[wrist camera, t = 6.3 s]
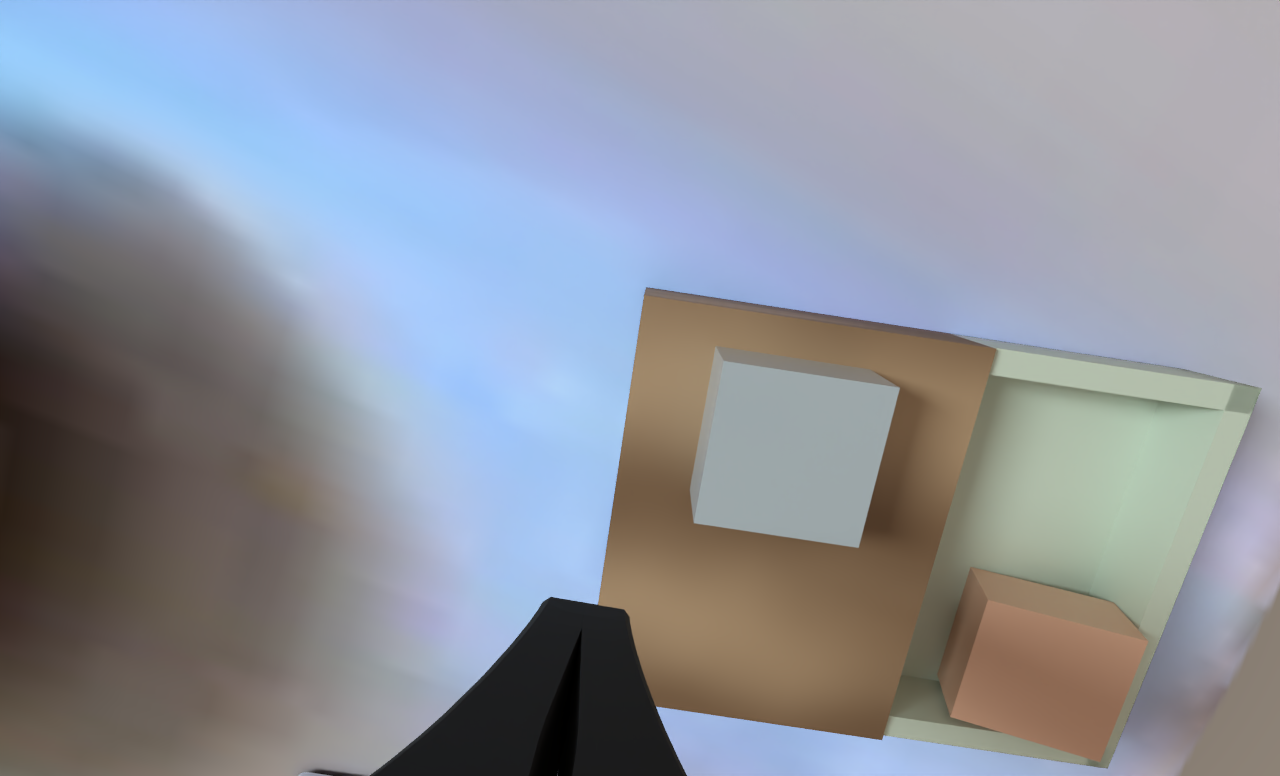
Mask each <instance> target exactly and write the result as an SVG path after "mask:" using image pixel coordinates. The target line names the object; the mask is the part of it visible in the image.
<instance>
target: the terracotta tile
mask: <svg viewBox="0 0 1280 776" xmlns="http://www.w3.org/2000/svg"><path fill="white" fill-rule="evenodd" d="M1147 644H1148V640H1147V639H1146V638H1145V637H1144V636H1143V635H1142V633H1141V632H1140V631H1139V630H1138V629H1137V628H1136V627H1135V626H1134V625H1133V623H1132V622H1131V621H1130V620H1129V619H1128V618H1127V617H1126V616H1125V614H1124V613H1123V612H1122V611H1121V610H1120V609H1119V608H1118V607H1117V606H1116V604H1115V603H1114V602H1110V601H1106V600H1102V599H1098V598H1094V597H1090V596H1086V595H1082V594H1078V593H1074V592H1070V591H1066V590H1062V589H1058V588H1054V587H1050V586H1046V585H1042V584H1038V583H1034V582H1030V581H1026V580H1022V579H1018V578H1014V577H1010V576H1006V575H1002V574H998V573H994V572H990V571H986V570H982V569H978V568H974V567H970V570H969V573H968V577H967V580H966V583H965V586H964V590H963V593H962V596H961V599H960V602H959V606H958V609H957V612H956V615H955V619H954V622H953V625H952V628H951V631H950V635H949V638H948V641H947V644H946V648H945V651H944V654H943V657H942V661H941V664H940V667H939V670H938V673H937V675H938V679H939V682H940V685H941V688H942V692H943V695H944V698H945V701H946V705H947V708H948V711H949V714H950V717H952V718H956V719H959V720H962V721H966V722H969V723H972V724H975V725H979V726H982V727H985V728H989V729H992V730H995V731H999V732H1002V733H1005V734H1009V735H1012V736H1015V737H1018V738H1022V739H1025V740H1028V741H1032V742H1035V743H1038V744H1042V745H1045V746H1048V747H1052V748H1055V749H1058V750H1061V751H1065V752H1068V753H1071V754H1075V755H1078V756H1081V757H1085V758H1088V759H1091V760H1094V761H1098V762H1100V761H1101V759H1102V756H1103V754H1104V751H1105V749H1106V746H1107V744H1108V741H1109V739H1110V736H1111V734H1112V731H1113V729H1114V726H1115V724H1116V721H1117V719H1118V716H1119V714H1120V711H1121V709H1122V706H1123V704H1124V701H1125V699H1126V696H1127V694H1128V691H1129V689H1130V686H1131V684H1132V681H1133V679H1134V676H1135V674H1136V671H1137V669H1138V666H1139V664H1140V661H1141V659H1142V656H1143V654H1144V651H1145V649H1146V646H1147Z"/></svg>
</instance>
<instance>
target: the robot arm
mask: <svg viewBox="0 0 1280 776" xmlns="http://www.w3.org/2000/svg"><path fill="white" fill-rule="evenodd" d="M557 774H558V776H687V775H686V773H685V771H684V769H683V767H682V765H681V763H680V761H679V759H678V757H677V755H676V752H675V750H674V748H673V746H672V744H671V741H670V739H669V737H668V735H667V733H666V731H665V728H664V726H663V723H662V721H661V719H660V716H659V714H658V711H657V709H656V706H655V703H654V701H653V698H652V695H651V693H650V690H649V687H648V685H647V682H646V679H645V676H644V673H643V670H642V667H641V664H640V661H639V657H638V654H637V651H636V647H635V643H634V639H633V635H632V630H631V625H630V617H629V615H628V614H627V613H626V611H625V610H624V609H619V608H613V607H607V606H601V605H595V604H589V603H583V602H577V601H571V600H565V599H559V598H553V597H550V598H548V599H547V600H545V601H544V602H543V603H542V604H541V606H540V608H539V609H538V611H537V612H536V613H535V615H534V616H533V618H532V619H531V620H530V622H529V623H528V624H527V626H526V627H525V628H524V630H523V631H522V632H521V633H520V634H519V636H518V637H517V638H516V639H515V641H514V642H513V643H512V644H511V645H510V647H509V648H508V649H507V650H506V651H505V652H504V653H503V654H502V655H501V657H500V658H499V659H498V660H497V661H496V662H495V663H494V664H493V665H492V667H491V668H490V669H489V670H488V671H487V672H486V673H485V674H484V675H483V676H482V677H481V678H480V679H479V680H478V682H477V683H475V684H474V685H473V686H472V687H471V688H470V689H469V690H468V691H467V692H466V693H465V694H464V695H463V696H462V697H461V698H460V699H459V700H458V701H457V702H456V703H455V704H454V705H453V706H452V707H451V708H450V709H449V710H448V711H447V712H446V713H445V714H444V715H442V716H441V717H440V718H439V719H438V720H437V721H436V722H435V723H434V724H432V725H431V726H430V727H429V728H428V729H427V730H426V731H425V732H423V733H422V734H421V735H420V736H419V737H418V738H416V739H415V740H414V741H413V742H412V743H410V744H409V745H408V746H407V747H406V748H404V749H403V750H402V751H401V752H399V753H398V754H397V755H396V756H395V757H393V758H392V759H391V760H390V761H388V762H387V763H386V764H385V765H383V766H382V767H381V768H379V769H378V770H377V771H375V772H374V773H373V774H371V775H370V776H557ZM298 776H331V775H324V774H317V773H310V772H303V773H301V774H299V775H298Z"/></svg>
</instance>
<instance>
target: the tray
mask: <svg viewBox="0 0 1280 776" xmlns="http://www.w3.org/2000/svg"><path fill="white" fill-rule="evenodd" d="M952 335H955V336H958V337H962V338H965V339H968V340H971V341H974V342H977V343H980V344H983V345H986V346H989V347H993V348H996V353H995V356H994V360H993V363H992V366H991V370H990V373H989V377H988V380H987V383H986V387H985V390H984V394H983V397H982V400H981V404H980V407H979V411H978V414H977V418H976V421H975V424H974V428H973V431H972V435H971V438H970V441H969V445H968V448H967V452H966V455H965V458H964V462H963V465H962V469H961V472H960V476H959V479H958V482H957V486H956V489H955V493H954V496H953V499H952V503H951V506H950V510H949V513H948V516H947V520H946V523H945V527H944V530H943V534H942V537H941V540H940V544H939V547H938V551H937V554H936V557H935V561H934V564H933V568H932V571H931V575H930V578H929V581H928V585H927V588H926V592H925V595H924V598H923V602H922V605H921V609H920V612H919V615H918V619H917V622H916V626H915V629H914V633H913V636H912V639H911V643H910V646H909V650H908V653H907V656H906V660H905V663H904V667H903V670H902V673H901V677H900V680H899V684H898V687H897V691H896V694H895V697H894V701H893V704H892V708H891V711H890V714H889V718H888V721H887V725H886V728H885V731H884V735H885V736H892V737H899V738H905V739H912V740H919V741H926V742H932V743H939V744H946V745H952V746H959V747H966V748H973V749H979V750H986V751H993V752H1000V753H1006V754H1013V755H1020V756H1026V757H1033V758H1040V759H1047V760H1053V761H1060V762H1067V763H1074V764H1080V765H1087V766H1094V767H1100V768H1107V769H1108V766H1109V764H1110V761H1111V759H1112V756H1113V754H1114V751H1115V749H1116V746H1117V744H1118V741H1119V739H1120V737H1121V734H1122V732H1123V729H1124V727H1125V724H1126V722H1127V719H1128V717H1129V714H1130V712H1131V709H1132V707H1133V704H1134V702H1135V700H1136V697H1137V695H1138V692H1139V690H1140V687H1141V685H1142V682H1143V680H1144V677H1145V675H1146V672H1147V670H1148V667H1149V665H1150V663H1151V660H1152V658H1153V655H1154V653H1155V650H1156V648H1157V645H1158V643H1159V640H1160V638H1161V635H1162V633H1163V630H1164V628H1165V626H1166V623H1167V621H1168V618H1169V616H1170V613H1171V611H1172V608H1173V606H1174V603H1175V601H1176V598H1177V596H1178V593H1179V591H1180V589H1181V586H1182V584H1183V581H1184V579H1185V576H1186V574H1187V571H1188V569H1189V566H1190V564H1191V561H1192V559H1193V557H1194V554H1195V552H1196V549H1197V547H1198V544H1199V542H1200V539H1201V537H1202V534H1203V532H1204V529H1205V527H1206V524H1207V522H1208V520H1209V517H1210V515H1211V512H1212V510H1213V507H1214V505H1215V502H1216V500H1217V497H1218V495H1219V492H1220V490H1221V487H1222V485H1223V483H1224V480H1225V478H1226V475H1227V473H1228V470H1229V468H1230V465H1231V463H1232V460H1233V458H1234V455H1235V453H1236V450H1237V448H1238V446H1239V443H1240V441H1241V438H1242V436H1243V433H1244V431H1245V428H1246V426H1247V423H1248V421H1249V418H1250V416H1251V413H1252V411H1253V409H1254V406H1255V404H1256V401H1257V399H1258V396H1259V394H1260V391H1261V389H1262V388H1258V387H1254V386H1250V385H1246V384H1242V383H1237V382H1233V381H1229V380H1225V379H1221V378H1217V377H1213V376H1209V375H1205V374H1201V373H1197V372H1193V371H1189V370H1185V369H1179V368H1172V367H1166V366H1159V365H1153V364H1146V363H1140V362H1133V361H1127V360H1120V359H1113V358H1107V357H1100V356H1094V355H1087V354H1081V353H1074V352H1067V351H1061V350H1054V349H1048V348H1041V347H1035V346H1028V345H1022V344H1015V343H1008V342H1002V341H995V340H989V339H982V338H976V337H969V336H962V335H956V334H952ZM970 567H974V568H978V569H982V570H986V571H990V572H994V573H998V574H1002V575H1006V576H1010V577H1014V578H1018V579H1022V580H1026V581H1030V582H1034V583H1038V584H1042V585H1046V586H1050V587H1054V588H1058V589H1062V590H1066V591H1070V592H1074V593H1078V594H1082V595H1086V596H1090V597H1094V598H1098V599H1102V600H1106V601H1110V602H1114V603H1115V604H1116V606H1117V607H1118V608H1119V609H1120V610H1121V611H1122V612H1123V613H1124V614H1125V616H1126V617H1127V618H1128V619H1129V620H1130V621H1131V622H1132V623H1133V625H1134V626H1135V627H1136V628H1137V629H1138V630H1139V631H1140V632H1141V633H1142V635H1143V636H1144V637H1145V638H1146V639H1147V640H1148V644H1147V646H1146V649H1145V651H1144V654H1143V656H1142V659H1141V661H1140V664H1139V666H1138V669H1137V671H1136V674H1135V676H1134V679H1133V681H1132V684H1131V686H1130V689H1129V691H1128V694H1127V696H1126V699H1125V701H1124V704H1123V706H1122V709H1121V711H1120V714H1119V716H1118V719H1117V721H1116V724H1115V726H1114V729H1113V731H1112V734H1111V736H1110V739H1109V741H1108V744H1107V746H1106V749H1105V751H1104V754H1103V756H1102V759H1101V761H1100V762H1098V761H1094V760H1091V759H1088V758H1085V757H1081V756H1078V755H1075V754H1071V753H1068V752H1065V751H1061V750H1058V749H1055V748H1052V747H1048V746H1045V745H1042V744H1038V743H1035V742H1032V741H1028V740H1025V739H1022V738H1018V737H1015V736H1012V735H1009V734H1005V733H1002V732H999V731H995V730H992V729H989V728H985V727H982V726H979V725H975V724H972V723H969V722H966V721H962V720H959V719H956V718H952V717H950V714H949V711H948V708H947V705H946V701H945V698H944V695H943V692H942V688H941V685H940V682H939V679H938V675H937V673H938V670H939V667H940V664H941V661H942V657H943V654H944V651H945V648H946V644H947V641H948V638H949V635H950V631H951V628H952V625H953V622H954V619H955V615H956V612H957V609H958V606H959V602H960V599H961V596H962V593H963V590H964V586H965V583H966V580H967V577H968V573H969V570H970Z"/></svg>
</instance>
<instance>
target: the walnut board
mask: <svg viewBox="0 0 1280 776" xmlns="http://www.w3.org/2000/svg"><path fill="white" fill-rule="evenodd" d="M716 346H720V347H726V348H733V349H739V350H746V351H753V352H759V353H766V354H772V355H779V356H786V357H792V358H799V359H805V360H812V361H818V362H825V363H832V364H838V365H845V366H851V367H858V368H865V369H870V370H872V371H874V372H875V373H877V374H878V375H880V376H882V377H883V378H885V379H887V380H888V381H890V382H891V383H893V384H895V385H896V386H898V387H900V390H899V394H898V397H897V401H896V405H895V409H894V413H893V417H892V421H891V424H890V428H889V432H888V436H887V440H886V444H885V448H884V452H883V455H882V459H881V463H880V467H879V471H878V475H877V479H876V482H875V486H874V490H873V494H872V498H871V502H870V506H869V510H868V513H867V517H866V521H865V525H864V529H863V533H862V537H861V541H860V544H859V548H856V547H849V546H843V545H836V544H829V543H823V542H816V541H809V540H803V539H796V538H789V537H783V536H776V535H770V534H763V533H756V532H750V531H743V530H736V529H730V528H723V527H716V526H710V525H703V524H696V523H694V521H693V513H692V504H691V496H690V485H691V480H692V474H693V469H694V463H695V458H696V452H697V447H698V441H699V436H700V430H701V425H702V419H703V413H704V408H705V402H706V397H707V391H708V386H709V380H710V375H711V369H712V364H713V358H714V352H715V347H716ZM995 353H996V348H993V347H989V346H986V345H983V344H980V343H977V342H974V341H971V340H968V339H965V338H962V337H958V336H955V335H952V334H949V333H943V332H936V331H930V330H923V329H917V328H910V327H903V326H897V325H890V324H884V323H877V322H871V321H864V320H857V319H851V318H844V317H838V316H831V315H825V314H818V313H812V312H805V311H798V310H792V309H785V308H779V307H772V306H766V305H759V304H752V303H746V302H739V301H733V300H726V299H720V298H713V297H707V296H700V295H693V294H687V293H680V292H674V291H667V290H661V289H654V288H647V287H646V290H645V294H644V300H643V306H642V313H641V320H640V326H639V333H638V340H637V347H636V353H635V360H634V367H633V374H632V380H631V387H630V394H629V400H628V407H627V414H626V421H625V427H624V434H623V441H622V447H621V454H620V461H619V468H618V474H617V481H616V488H615V494H614V501H613V508H612V515H611V521H610V528H609V535H608V541H607V548H606V555H605V562H604V568H603V575H602V582H601V588H600V595H599V602H598V605H601V606H607V607H613V608H619V609H624V610H625V611H626V613H627V614H628V615H629V617H630V625H631V630H632V635H633V639H634V643H635V647H636V651H637V654H638V657H639V661H640V664H641V667H642V670H643V673H644V676H645V679H646V682H647V685H648V687H649V690H650V693H651V695H652V698H653V701H654V703H655V706H657V707H664V708H670V709H677V710H684V711H691V712H697V713H704V714H711V715H717V716H724V717H731V718H738V719H744V720H751V721H758V722H765V723H771V724H778V725H785V726H791V727H798V728H805V729H812V730H818V731H825V732H832V733H839V734H845V735H852V736H859V737H866V738H872V739H879V740H882V738H883V735H884V731H885V728H886V725H887V721H888V718H889V714H890V711H891V708H892V704H893V701H894V697H895V694H896V691H897V687H898V684H899V680H900V677H901V673H902V670H903V667H904V663H905V660H906V656H907V653H908V650H909V646H910V643H911V639H912V636H913V633H914V629H915V626H916V622H917V619H918V615H919V612H920V609H921V605H922V602H923V598H924V595H925V592H926V588H927V585H928V581H929V578H930V575H931V571H932V568H933V564H934V561H935V557H936V554H937V551H938V547H939V544H940V540H941V537H942V534H943V530H944V527H945V523H946V520H947V516H948V513H949V510H950V506H951V503H952V499H953V496H954V493H955V489H956V486H957V482H958V479H959V476H960V472H961V469H962V465H963V462H964V458H965V455H966V452H967V448H968V445H969V441H970V438H971V435H972V431H973V428H974V424H975V421H976V418H977V414H978V411H979V407H980V404H981V400H982V397H983V394H984V390H985V387H986V383H987V380H988V377H989V373H990V370H991V366H992V363H993V360H994V356H995Z"/></svg>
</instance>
